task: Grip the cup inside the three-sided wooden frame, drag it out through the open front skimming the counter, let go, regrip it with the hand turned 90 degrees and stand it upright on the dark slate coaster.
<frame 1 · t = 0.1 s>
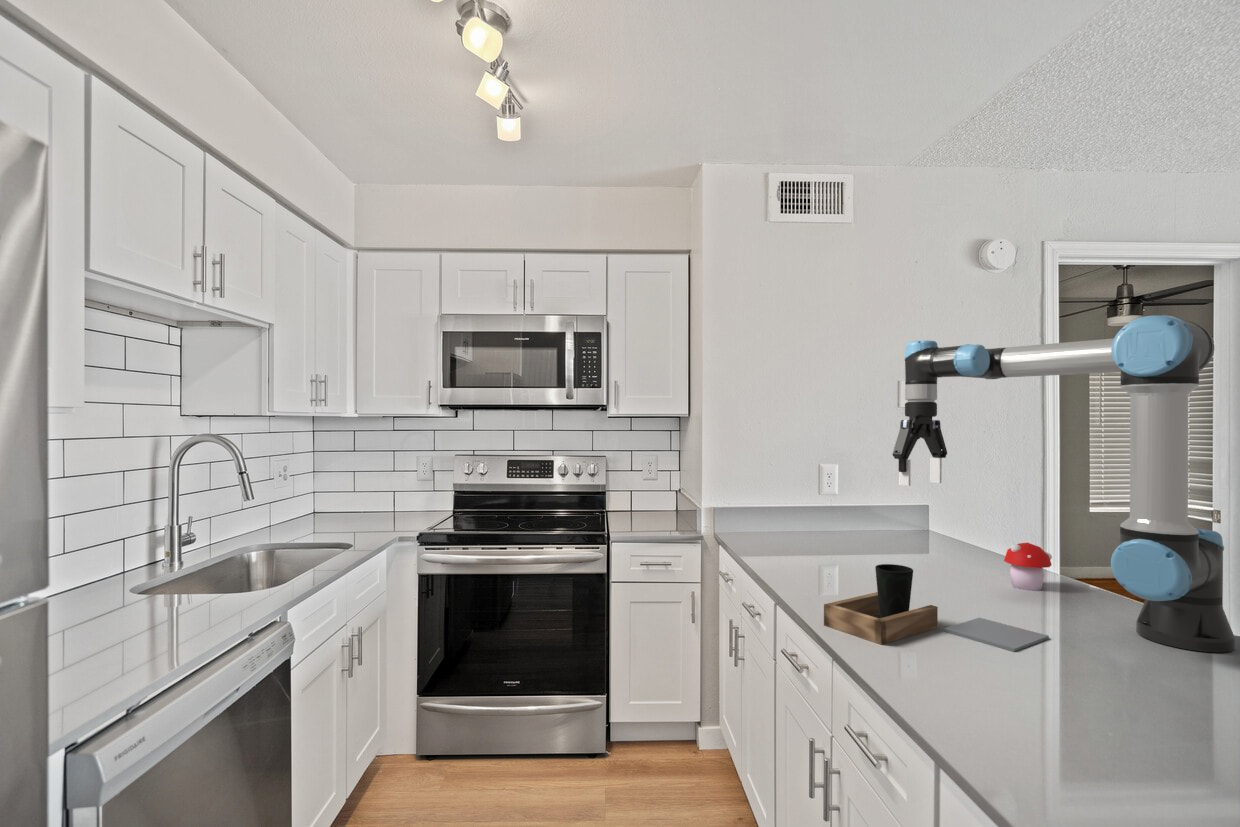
hand: (920, 484, 165), 28 cm above the worktop, fingers open, 13 cm apart
mushroom: (1027, 588, 171), on the worktop
wooden frame: (880, 626, 138), on the worktop
coaster: (995, 634, 133), on the worktop
cup: (893, 623, 141), on the worktop
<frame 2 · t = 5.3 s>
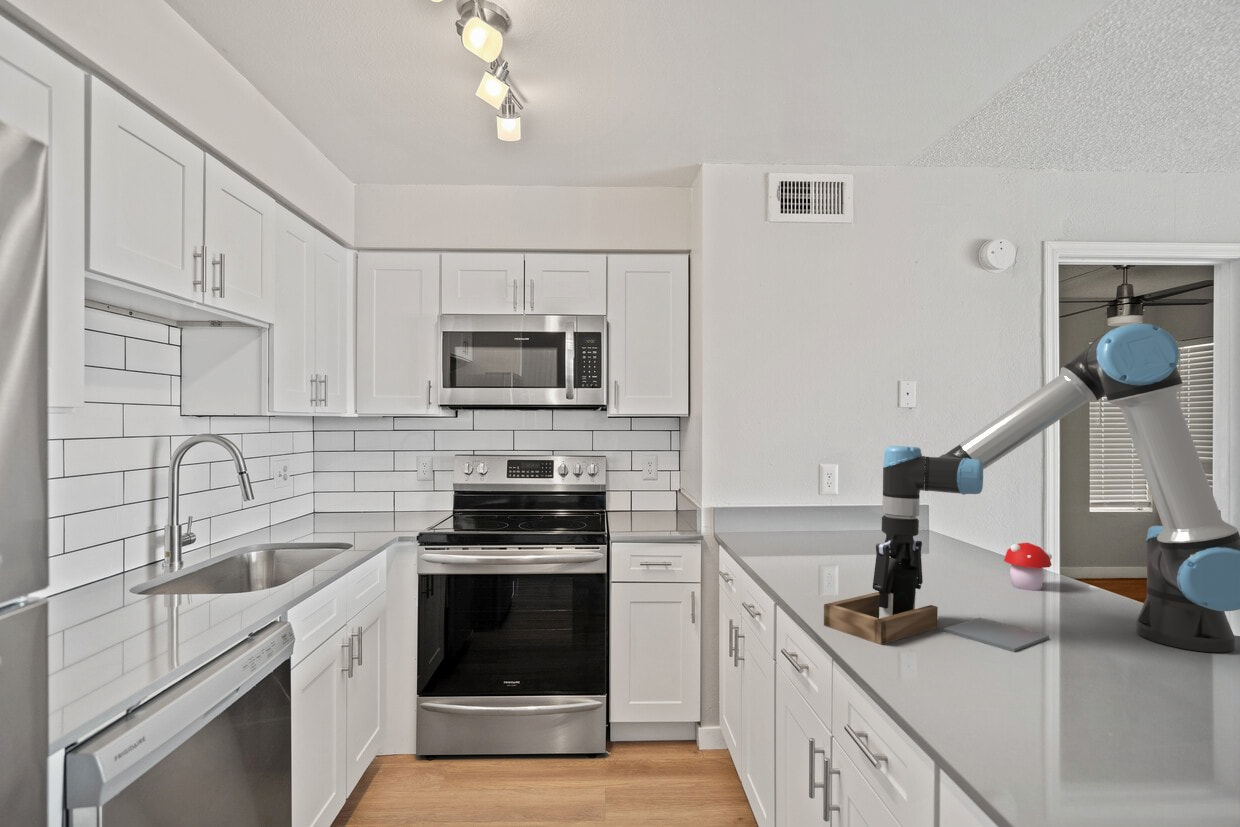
hand: (897, 619, 142), 0 cm above the worktop, fingers closed on cup, 8 cm apart
cup: (897, 622, 142), on the worktop, touching gripper
everything else where it was.
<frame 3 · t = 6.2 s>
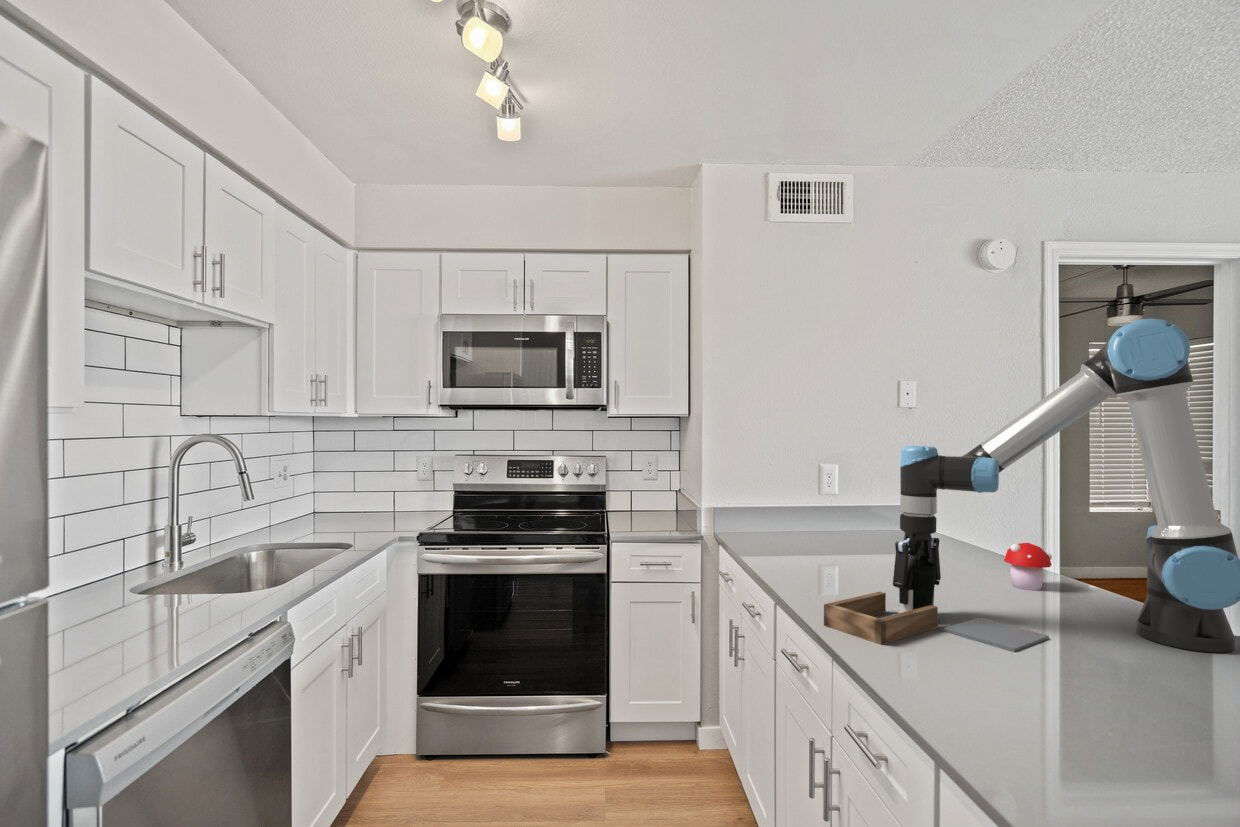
hand: (916, 615, 145), 0 cm above the worktop, fingers closed on cup, 8 cm apart
cup: (917, 617, 145), on the worktop, touching gripper
everything else where it was.
when the fingers open (0 cm above the worktop, at t = 7.4 s): cup stays where it is, on the worktop.
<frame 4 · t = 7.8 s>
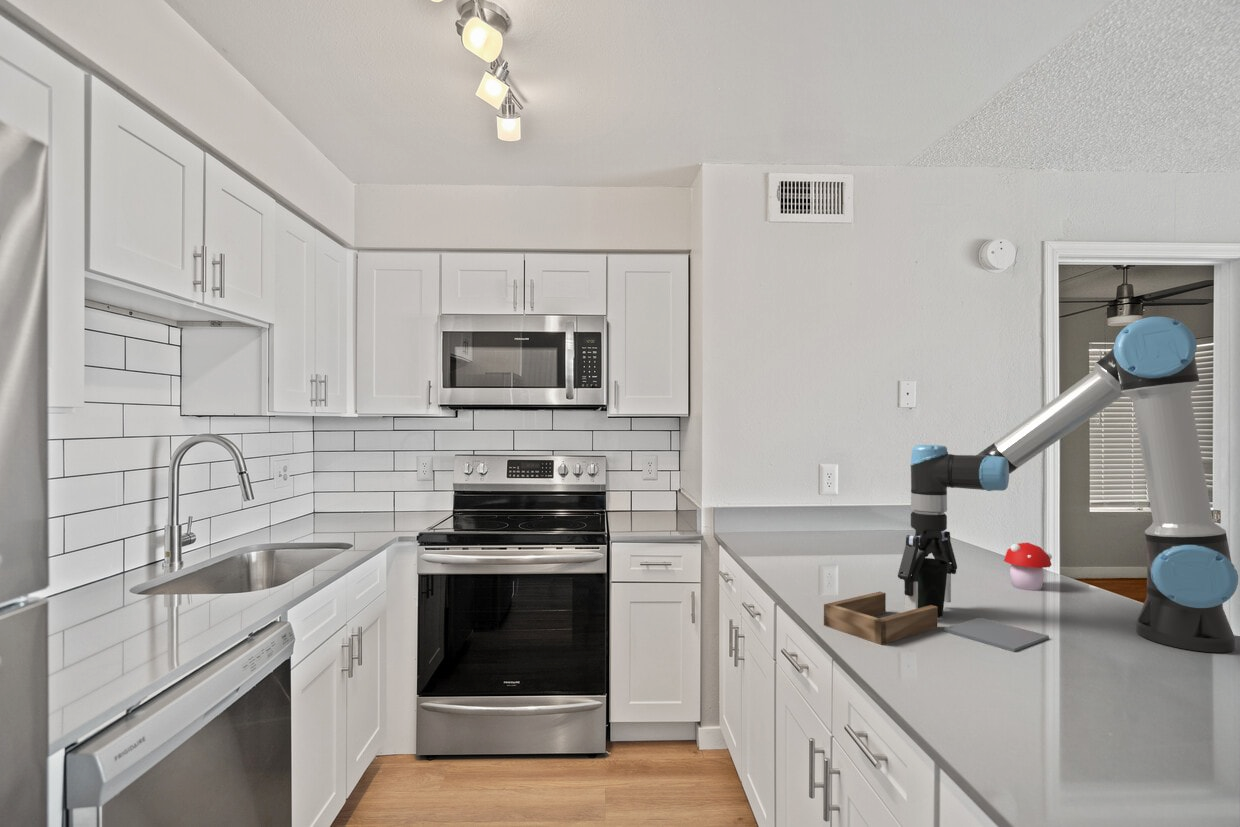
hand: (928, 605, 148), 2 cm above the worktop, fingers open, 12 cm apart
cup: (929, 614, 148), on the worktop
everything else where it was.
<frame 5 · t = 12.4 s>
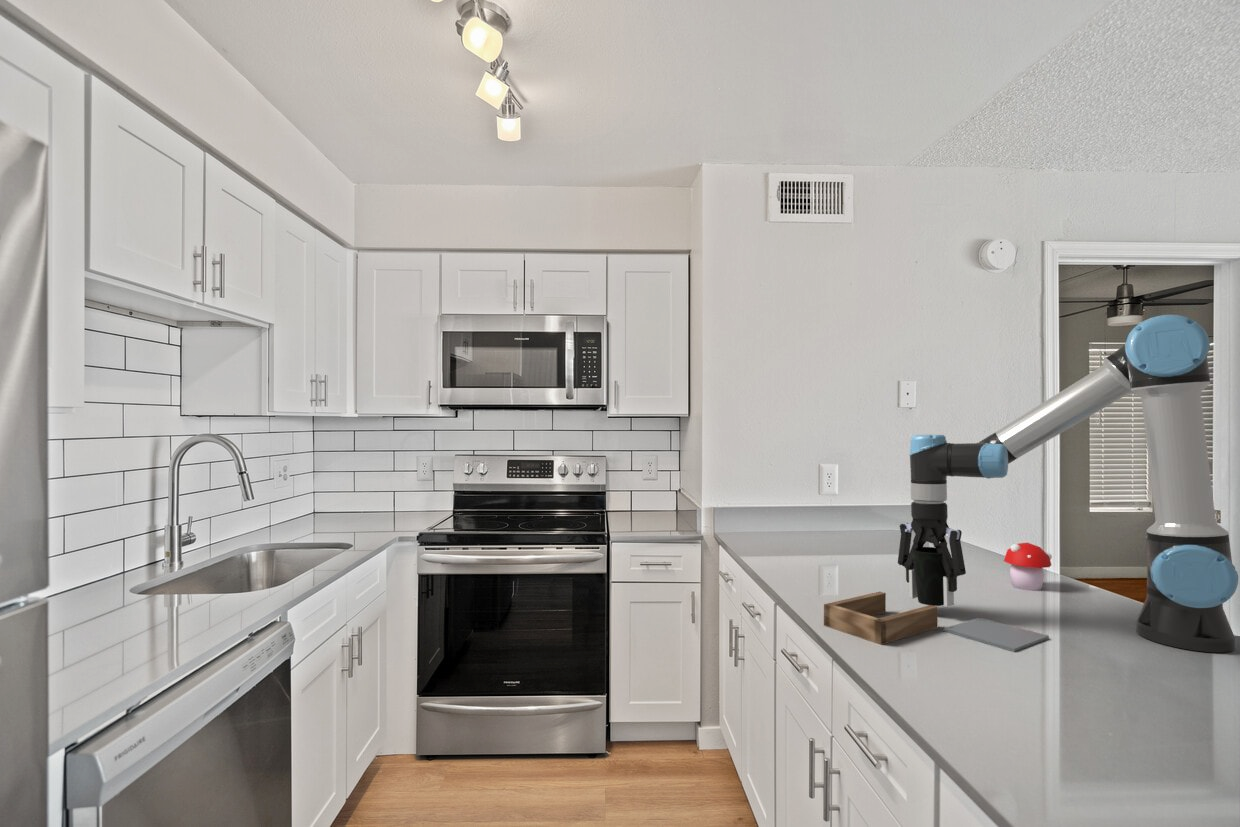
hand: (931, 601, 148), 3 cm above the worktop, fingers closed on cup, 8 cm apart
cup: (931, 603, 148), point 2 cm above the worktop, touching gripper
everything else where it was.
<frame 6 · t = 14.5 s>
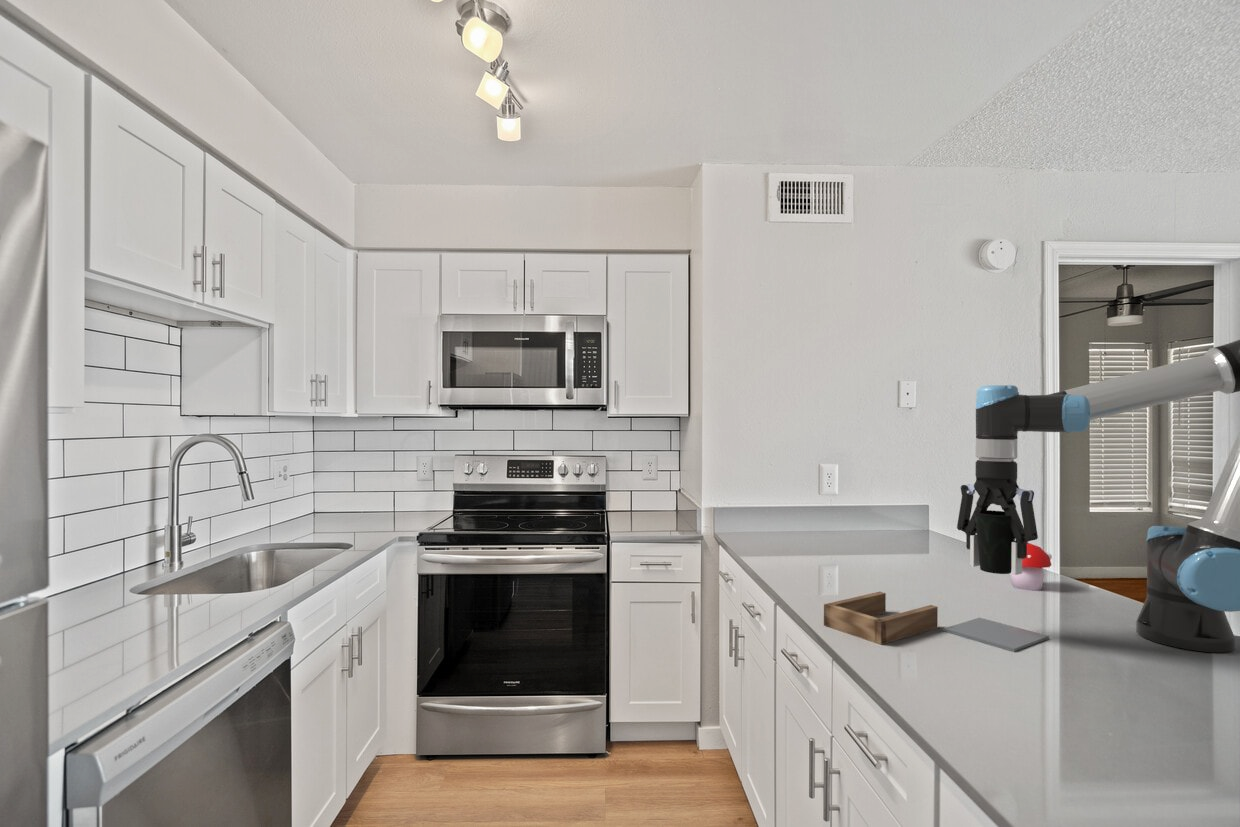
hand: (995, 569, 133), 14 cm above the worktop, fingers closed on cup, 8 cm apart
cup: (995, 571, 134), point 13 cm above the worktop, touching gripper
everything else where it was.
when the fingers open (1 cm above the worktop, at t = 16.9 s): cup stays where it is, resting on coaster.
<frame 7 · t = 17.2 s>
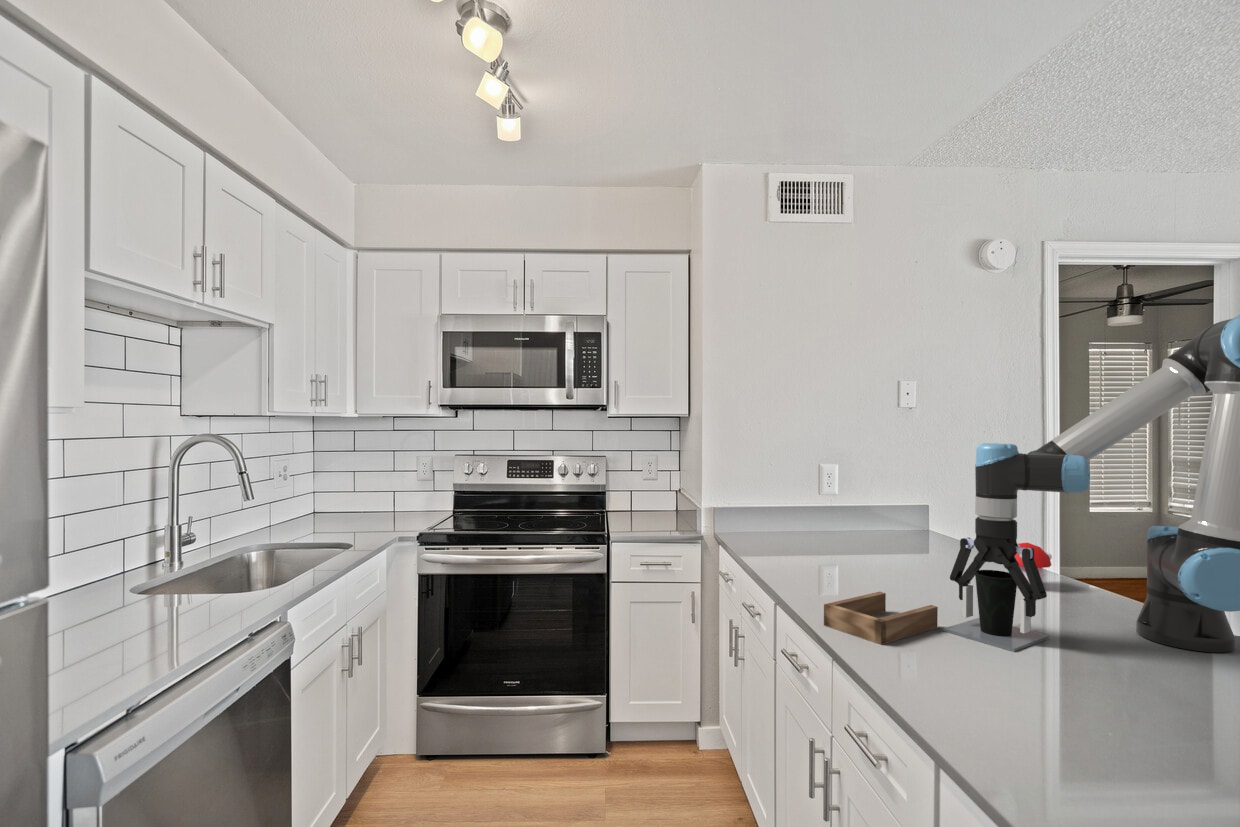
hand: (995, 623, 133), 2 cm above the worktop, fingers open, 11 cm apart
cup: (995, 632, 133), resting on coaster
everything else where it was.
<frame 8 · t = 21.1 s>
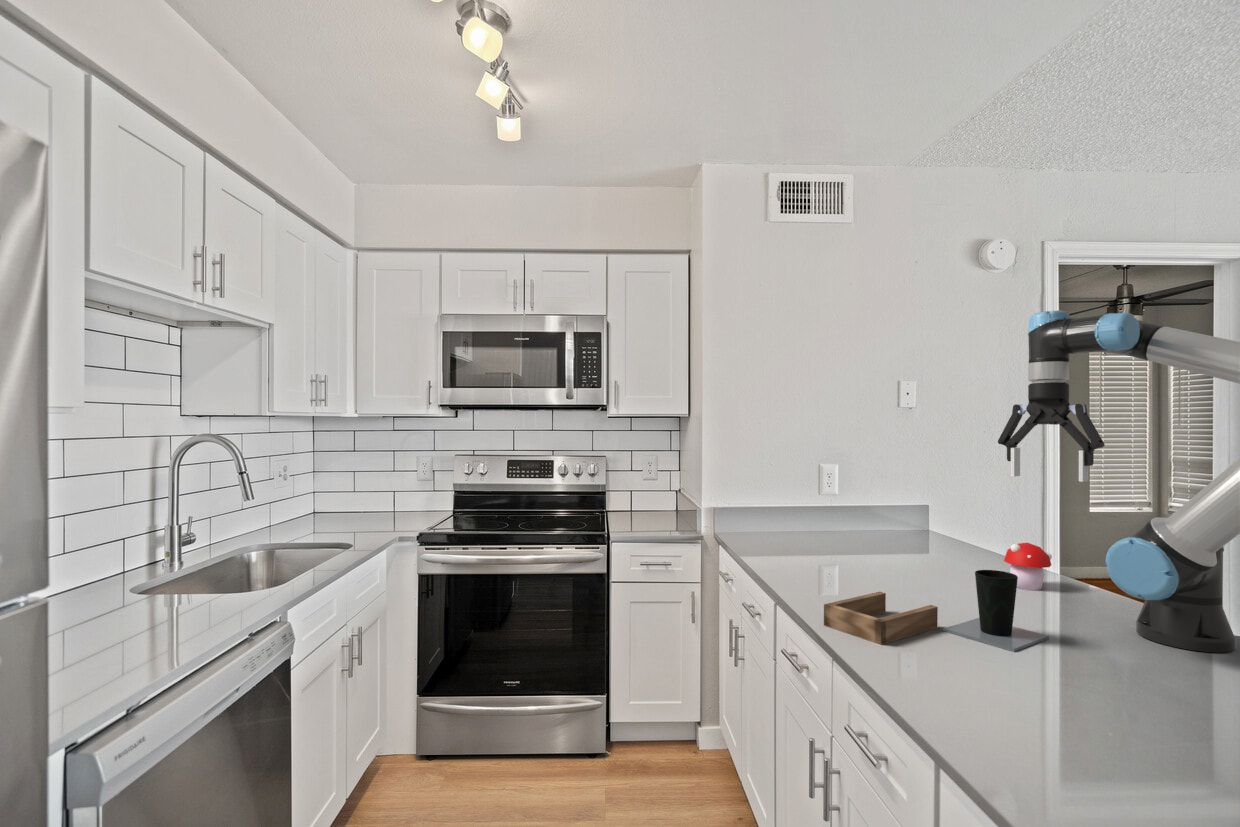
hand: (1048, 478, 142), 32 cm above the worktop, fingers open, 13 cm apart
nothing on the worktop moved.
at the end: cup inside the target area on the coaster (0.1 cm from its centre), point 0.4 cm above the coaster's base; cup tilted 0°; cup touching coaster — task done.
